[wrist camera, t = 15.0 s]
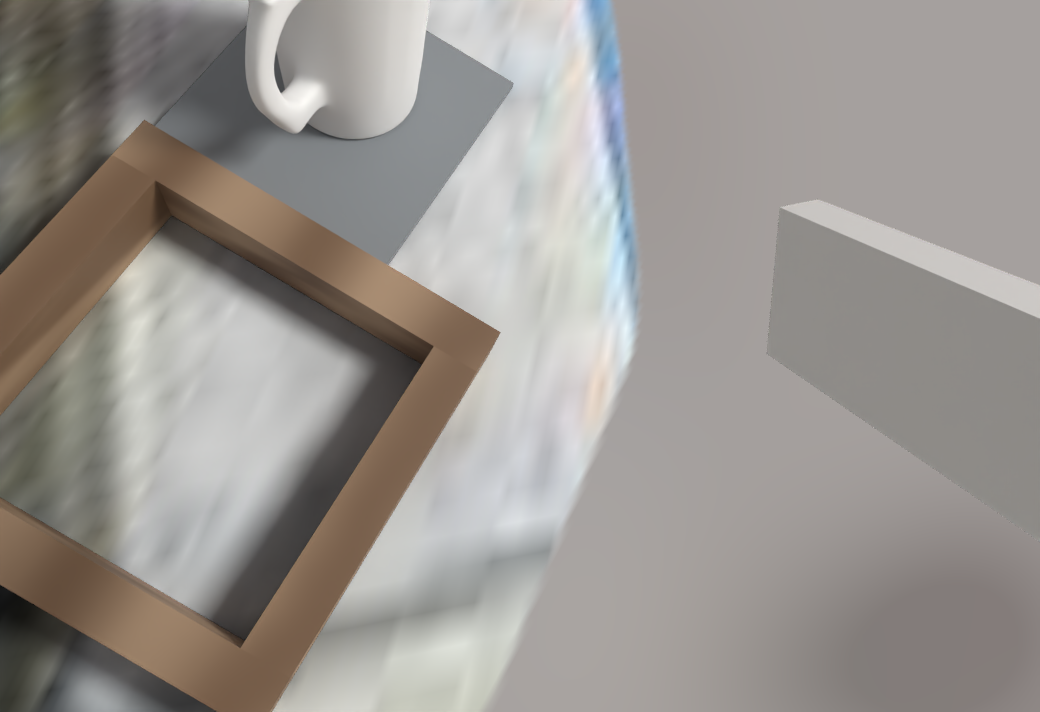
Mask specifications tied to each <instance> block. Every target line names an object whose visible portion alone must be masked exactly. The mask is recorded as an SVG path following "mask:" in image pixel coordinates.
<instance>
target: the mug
mask: <svg viewBox="0 0 1040 712" xmlns="http://www.w3.org/2000/svg"><path fill="white" fill-rule="evenodd" d="M429 4H430V0H249V9H248V20H247V30H246V45H245V71H246V80H247V86H248V90H249V93H250V96H251V98H252V100H253V102H254V104H255V106H256V107H257V109H258V110H259V111H260V112H261V113H262V114H264V115H265V116H266V117H267V118H268V119H269V120H271V121H272V122H273V123H274V124H275V125H277V126H278V127H280V128H282V129H283V130H285V131H287V132H289V133H293V134H296V133H299V132H300V131H301V130H302V129H303V128H304V126H305V125H306V123H308V124H309V125H311V126H312V127H314V128H315V129H317V130H319V131H321V132H323V133H325V134H328V135H331V136H334V137H339V138H344V139H366V138H372V137H376V136H379V135H382V134H384V133H386V132H388V131H390V130H392V129H394V128H395V127H396V126H398V125H399V124H400V123H401V122H402V121H403V120H404V119H405V118H406V117H407V115H408V114H409V112H410V111H411V109H412V107H413V105H414V102H415V99H416V95H417V90H418V82H419V76H420V70H421V64H422V58H423V50H424V42H425V34H426V26H427V19H428V11H429ZM276 52H277V57H278V61H279V66H280V70H281V74H282V79H283V83H284V87H285V90H284V91H283V92H282V93H280V91H279V89H278V87H277V84H276V81H275V76H274V60H275V53H276Z"/></svg>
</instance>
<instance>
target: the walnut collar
mask: <svg viewBox="0 0 1040 712" xmlns="http://www.w3.org/2000/svg"><path fill="white" fill-rule="evenodd" d="M171 216H174V217H175V218H177V219H179V220H180V221H182V222H184V223H185V224H187V225H189V226H190V227H192V228H194V229H195V230H197V231H199V232H200V233H202V234H204V235H206V236H207V237H209V238H211V239H212V240H214V241H216V242H217V243H219V244H221V245H222V246H224V247H226V248H227V249H229V250H231V251H232V252H234V253H236V254H237V255H239V256H241V257H243V258H244V259H246V260H248V261H249V262H251V263H253V264H254V265H256V266H258V267H259V268H261V269H263V270H264V271H266V272H268V273H269V274H271V275H273V276H274V277H276V278H278V279H279V280H281V281H283V282H285V283H286V284H288V285H290V286H291V287H293V288H295V289H296V290H298V291H300V292H301V293H303V294H305V295H306V296H308V297H310V298H311V299H313V300H315V301H316V302H318V303H320V304H322V305H323V306H325V307H327V308H328V309H330V310H332V311H333V312H335V313H337V314H338V315H340V316H342V317H343V318H345V319H347V320H348V321H350V322H352V323H353V324H355V325H357V326H358V327H360V328H362V329H364V330H365V331H367V332H369V333H370V334H372V335H374V336H375V337H377V338H379V339H380V340H382V341H384V342H385V343H387V344H389V345H390V346H392V347H394V348H395V349H397V350H399V351H400V352H402V353H404V354H406V355H407V356H409V357H411V358H412V359H414V360H416V361H417V362H419V363H421V364H422V366H421V367H420V369H419V370H418V372H417V373H416V375H415V377H414V378H413V380H412V381H411V383H410V384H409V386H408V387H407V389H406V391H405V392H404V394H403V395H402V397H401V398H400V400H399V401H398V403H397V405H396V406H395V408H394V409H393V411H392V412H391V414H390V415H389V417H388V419H387V420H386V422H385V423H384V425H383V426H382V428H381V430H380V431H379V433H378V434H377V436H376V437H375V439H374V440H373V442H372V444H371V445H370V447H369V448H368V450H367V451H366V453H365V454H364V456H363V458H362V459H361V461H360V462H359V464H358V465H357V467H356V468H355V470H354V472H353V473H352V475H351V476H350V478H349V479H348V481H347V483H346V484H345V486H344V487H343V489H342V490H341V492H340V493H339V495H338V497H337V498H336V500H335V501H334V503H333V504H332V506H331V507H330V509H329V511H328V512H327V514H326V515H325V517H324V518H323V520H322V522H321V523H320V525H319V526H318V528H317V529H316V531H315V532H314V534H313V536H312V537H311V539H310V540H309V542H308V543H307V545H306V546H305V548H304V550H303V551H302V553H301V554H300V556H299V557H298V559H297V560H296V562H295V564H294V565H293V567H292V568H291V570H290V571H289V573H288V575H287V576H286V578H285V579H284V581H283V582H282V584H281V585H280V587H279V589H278V590H277V592H276V593H275V595H274V596H273V598H272V599H271V601H270V603H269V604H268V606H267V607H266V609H265V610H264V612H263V613H262V615H261V617H260V618H259V620H258V621H257V623H256V624H255V626H254V628H253V629H252V631H251V632H250V634H249V635H248V637H247V638H246V640H245V641H244V640H243V639H241V638H239V637H237V636H236V635H234V634H232V633H231V632H229V631H227V630H225V629H224V628H222V627H220V626H219V625H217V624H215V623H214V622H212V621H210V620H208V619H207V618H205V617H203V616H202V615H200V614H198V613H196V612H195V611H193V610H191V609H190V608H188V607H186V606H185V605H183V604H181V603H179V602H178V601H176V600H174V599H173V598H171V597H169V596H168V595H166V594H164V593H162V592H161V591H159V590H157V589H156V588H154V587H152V586H150V585H149V584H147V583H145V582H144V581H142V580H140V579H139V578H137V577H135V576H133V575H132V574H130V573H128V572H127V571H125V570H123V569H121V568H120V567H118V566H116V565H115V564H113V563H111V562H110V561H108V560H106V559H104V558H103V557H101V556H99V555H98V554H96V553H94V552H93V551H91V550H89V549H87V548H86V547H84V546H82V545H81V544H79V543H77V542H75V541H74V540H72V539H70V538H69V537H67V536H65V535H64V534H62V533H60V532H58V531H57V530H55V529H53V528H52V527H50V526H48V525H46V524H45V523H43V522H41V521H40V520H38V519H36V518H35V517H33V516H31V515H29V514H28V513H26V512H24V511H23V510H21V509H19V508H18V507H16V506H14V505H12V504H11V503H9V502H7V501H6V500H4V499H2V498H0V585H2V586H3V587H5V588H7V589H8V590H10V591H12V592H13V593H15V594H17V595H19V596H20V597H22V598H24V599H25V600H27V601H29V602H31V603H32V604H34V605H36V606H37V607H39V608H41V609H43V610H44V611H46V612H48V613H49V614H51V615H53V616H55V617H56V618H58V619H60V620H61V621H63V622H65V623H67V624H68V625H70V626H72V627H73V628H75V629H77V630H78V631H80V632H82V633H84V634H85V635H87V636H89V637H90V638H92V639H94V640H96V641H97V642H99V643H101V644H102V645H104V646H106V647H108V648H109V649H111V650H113V651H114V652H116V653H118V654H120V655H121V656H123V657H125V658H126V659H128V660H130V661H131V662H133V663H135V664H137V665H138V666H140V667H142V668H143V669H145V670H147V671H149V672H150V673H152V674H154V675H155V676H157V677H159V678H161V679H162V680H164V681H166V682H167V683H169V684H171V685H173V686H174V687H176V688H178V689H179V690H181V691H183V692H185V693H186V694H188V695H190V696H191V697H193V698H195V699H196V700H198V701H200V702H202V703H203V704H205V705H207V706H208V707H210V708H212V709H214V710H215V711H217V712H272V711H273V709H274V707H275V706H276V704H277V702H278V701H279V699H280V698H281V696H282V694H283V693H284V691H285V689H286V688H287V686H288V684H289V683H290V681H291V679H292V678H293V676H294V674H295V673H296V671H297V670H298V668H299V666H300V665H301V663H302V661H303V660H304V658H305V656H306V655H307V653H308V651H309V650H310V648H311V646H312V645H313V643H314V642H315V640H316V638H317V637H318V635H319V633H320V632H321V630H322V628H323V627H324V625H325V623H326V622H327V620H328V618H329V617H330V615H331V614H332V612H333V610H334V609H335V607H336V605H337V604H338V602H339V600H340V599H341V597H342V595H343V594H344V592H345V590H346V589H347V587H348V586H349V584H350V582H351V581H352V579H353V577H354V576H355V574H356V572H357V571H358V569H359V567H360V566H361V564H362V562H363V561H364V559H365V558H366V556H367V554H368V553H369V551H370V549H371V548H372V546H373V544H374V543H375V541H376V539H377V538H378V536H379V534H380V533H381V531H382V530H383V528H384V526H385V525H386V523H387V521H388V520H389V518H390V516H391V515H392V513H393V511H394V510H395V508H396V506H397V505H398V503H399V502H400V500H401V498H402V497H403V495H404V493H405V492H406V490H407V488H408V487H409V485H410V483H411V482H412V480H413V478H414V477H415V475H416V474H417V472H418V470H419V469H420V467H421V465H422V464H423V462H424V460H425V459H426V457H427V455H428V454H429V452H430V450H431V449H432V447H433V446H434V444H435V442H436V441H437V439H438V437H439V436H440V434H441V432H442V431H443V429H444V427H445V426H446V424H447V422H448V421H449V419H450V418H451V416H452V414H453V413H454V411H455V409H456V408H457V406H458V404H459V403H460V401H461V399H462V398H463V396H464V394H465V393H466V391H467V389H468V388H469V386H470V385H471V383H472V381H473V380H474V378H475V376H476V375H477V373H478V371H479V370H480V368H481V366H482V365H483V363H484V361H485V360H486V358H487V357H488V355H489V353H490V351H491V349H492V347H493V345H494V344H495V342H496V340H497V338H498V336H499V334H500V332H499V331H497V330H496V329H494V328H492V327H491V326H489V325H487V324H486V323H484V322H482V321H481V320H479V319H477V318H476V317H474V316H472V315H471V314H469V313H467V312H465V311H464V310H462V309H460V308H459V307H457V306H455V305H454V304H452V303H450V302H449V301H447V300H445V299H444V298H442V297H440V296H439V295H437V294H435V293H434V292H432V291H430V290H429V289H427V288H425V287H424V286H422V285H420V284H419V283H417V282H415V281H414V280H412V279H410V278H409V277H407V276H405V275H403V274H402V273H400V272H398V271H397V270H395V269H393V268H392V267H390V266H388V265H387V264H385V263H383V262H382V261H380V260H378V259H377V258H375V257H373V256H372V255H370V254H368V253H367V252H365V251H363V250H362V249H360V248H358V247H357V246H355V245H353V244H352V243H350V242H348V241H347V240H345V239H343V238H341V237H340V236H338V235H336V234H335V233H333V232H331V231H330V230H328V229H326V228H325V227H323V226H321V225H320V224H318V223H316V222H315V221H313V220H311V219H310V218H308V217H306V216H305V215H303V214H301V213H300V212H298V211H296V210H295V209H293V208H291V207H290V206H288V205H286V204H285V203H283V202H281V201H279V200H278V199H276V198H274V197H273V196H271V195H269V194H268V193H266V192H264V191H263V190H261V189H259V188H258V187H256V186H254V185H253V184H251V183H249V182H248V181H246V180H244V179H243V178H241V177H239V176H238V175H236V174H234V173H233V172H231V171H229V170H228V169H226V168H224V167H223V166H221V165H219V164H217V163H216V162H214V161H212V160H211V159H209V158H207V157H206V156H204V155H202V154H201V153H199V152H197V151H196V150H194V149H192V148H191V147H189V146H187V145H186V144H184V143H182V142H181V141H179V140H177V139H176V138H174V137H172V136H171V135H169V134H167V133H166V132H164V131H162V130H161V129H159V128H157V127H155V126H154V125H152V124H150V123H149V122H147V121H145V120H144V121H143V122H142V123H141V124H140V125H139V126H138V127H137V128H136V129H135V130H134V132H133V133H132V134H131V135H130V136H129V137H128V138H127V139H126V140H125V141H124V142H123V143H122V145H121V146H120V147H119V148H118V149H117V150H116V151H115V152H114V153H113V154H112V155H111V156H110V157H109V159H108V160H107V161H106V162H105V163H104V164H103V165H102V166H101V167H100V168H99V169H98V170H97V171H96V173H95V174H94V175H93V176H92V177H91V178H90V179H89V180H88V181H87V182H86V183H85V184H84V185H83V187H82V188H81V189H80V190H79V191H78V192H77V193H76V194H75V195H74V196H73V197H72V198H71V199H70V201H69V202H68V203H67V204H66V205H65V206H64V207H63V208H62V209H61V210H60V211H59V212H58V213H57V215H56V216H55V217H54V218H53V219H52V220H51V221H50V222H49V223H48V224H47V225H46V226H45V227H44V229H43V230H42V231H41V232H40V233H39V234H38V235H37V236H36V237H35V238H34V239H33V240H32V241H31V243H30V244H29V245H28V246H27V247H26V248H25V249H24V250H23V251H22V252H21V253H20V254H19V256H18V257H17V258H16V259H15V260H14V261H13V262H12V263H11V264H10V265H9V266H8V267H7V268H6V270H5V271H4V272H3V273H2V274H1V275H0V415H1V414H2V413H3V412H4V411H5V409H6V408H7V407H8V406H9V405H10V404H11V402H12V401H13V400H14V399H15V398H16V397H17V395H18V394H19V393H20V392H21V391H22V390H23V388H24V387H25V386H26V385H27V384H28V383H29V381H30V380H31V379H32V378H33V377H34V376H35V374H36V373H37V372H38V371H39V370H40V369H41V367H42V366H43V365H44V364H45V363H46V362H47V360H48V359H49V358H50V357H51V356H52V355H53V353H54V352H55V351H56V350H57V349H58V347H59V346H60V345H61V344H62V343H63V342H64V340H65V339H66V338H67V337H68V336H69V335H70V333H71V332H72V331H73V330H74V329H75V328H76V326H77V325H78V324H79V323H80V322H81V321H82V319H83V318H84V317H85V316H86V315H87V314H88V312H89V311H90V310H91V309H92V308H93V307H94V305H95V304H96V303H97V302H98V301H99V300H100V298H101V297H102V296H103V295H104V294H105V293H106V291H107V290H108V289H109V288H110V287H111V286H112V284H113V283H114V282H115V281H116V280H117V279H118V277H119V276H120V275H121V274H122V273H123V272H124V270H125V269H126V268H127V267H128V266H129V265H130V263H131V262H132V261H133V260H134V259H135V258H136V256H137V255H138V254H139V253H140V252H141V251H142V249H143V248H144V247H145V246H146V245H147V244H148V242H149V241H150V240H151V239H152V238H153V237H154V235H155V234H156V233H157V232H158V231H159V230H160V228H161V227H162V226H163V225H164V224H165V223H166V221H167V220H168V219H169V218H170V217H171Z"/></svg>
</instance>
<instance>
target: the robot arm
mask: <svg viewBox="0 0 1040 712" xmlns="http://www.w3.org/2000/svg"><path fill="white" fill-rule="evenodd" d="M767 354H768V355H769V356H771V357H772V358H774V359H775V360H777V361H778V362H780V363H781V364H782V365H784V366H785V367H787V368H788V369H790V370H791V371H792V372H794V373H796V374H797V375H798V376H800V377H801V378H803V379H804V380H806V381H807V382H808V383H810V384H811V385H813V386H814V387H816V388H817V389H819V390H820V391H822V392H823V393H824V394H826V395H828V396H829V397H830V398H832V399H833V400H835V401H836V402H837V403H839V404H840V405H842V406H843V407H845V408H846V409H848V410H849V411H851V412H852V413H853V414H855V415H856V416H858V417H859V418H861V419H862V420H864V421H865V422H867V423H868V424H869V425H871V426H872V427H874V428H875V429H877V430H878V431H880V432H881V433H883V434H884V435H885V436H887V437H888V438H890V439H892V440H893V441H894V442H896V443H897V444H899V445H900V446H901V447H903V448H904V449H906V450H907V451H909V452H910V453H912V454H913V455H915V456H916V457H917V458H919V459H921V460H922V461H923V462H925V463H926V464H928V465H929V466H930V467H932V468H933V469H935V470H936V471H938V472H939V473H941V474H942V475H944V476H945V477H947V478H948V479H949V480H951V481H952V482H954V483H955V484H957V485H958V486H960V487H961V488H962V489H964V490H965V491H967V492H968V493H970V494H971V495H973V496H974V497H975V498H977V499H978V500H980V501H981V502H983V503H984V504H986V505H987V506H989V507H990V508H991V509H993V510H994V511H996V512H997V513H999V514H1000V515H1002V516H1003V517H1005V518H1006V519H1007V520H1009V521H1010V522H1012V523H1014V524H1015V525H1016V526H1018V527H1019V528H1021V529H1022V530H1023V531H1025V532H1026V533H1028V534H1029V535H1031V536H1032V537H1034V538H1035V539H1036V540H1038V541H1039V542H1040V286H1039V285H1037V284H1035V283H1032V282H1029V281H1027V280H1024V279H1022V278H1019V277H1016V276H1014V275H1011V274H1009V273H1006V272H1004V271H1001V270H999V269H996V268H993V267H991V266H988V265H985V264H983V263H981V262H978V261H976V260H973V259H970V258H968V257H965V256H962V255H960V254H957V253H955V252H952V251H950V250H947V249H945V248H942V247H939V246H937V245H934V244H932V243H929V242H926V241H924V240H921V239H919V238H916V237H914V236H911V235H909V234H906V233H903V232H901V231H898V230H896V229H893V228H891V227H888V226H886V225H883V224H880V223H878V222H875V221H873V220H870V219H867V218H865V217H862V216H860V215H857V214H855V213H852V212H850V211H847V210H844V209H842V208H839V207H837V206H834V205H832V204H829V203H826V202H824V201H821V200H819V199H817V200H813V201H808V202H803V203H798V204H793V205H789V206H784V207H780V211H779V222H778V233H777V244H776V256H775V266H774V278H773V288H772V299H771V311H770V322H769V333H768V344H767Z"/></svg>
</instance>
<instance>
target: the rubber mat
mask: <svg viewBox="0 0 1040 712" xmlns="http://www.w3.org/2000/svg"><path fill="white" fill-rule="evenodd" d="M246 30H247V26H246V27H245V28H244V29H243V30H242V31H241V32H240V34H239V35H238V36H237V37H236V38H235V39H234V40H233V41H232V42H231V43H230V44H229V46H228V47H227V48H226V49H225V50H224V51H223V52H222V53H221V54H220V55H219V56H218V58H217V59H216V60H215V61H214V62H213V63H212V64H211V65H210V66H209V67H208V68H207V69H206V71H205V72H204V73H203V74H202V75H201V76H200V77H199V78H198V79H197V80H196V81H195V83H194V84H193V85H192V86H191V87H190V88H189V89H188V90H187V91H186V92H185V93H184V95H183V96H182V97H181V98H180V99H179V100H178V101H177V102H176V103H175V104H174V105H173V107H172V108H171V109H170V110H169V111H168V112H167V113H166V114H165V115H164V116H163V117H162V119H161V120H160V121H159V122H158V123H157V124H156V125H155V127H157V128H159V129H161V130H162V131H164V132H166V133H167V134H169V135H171V136H172V137H174V138H176V139H177V140H179V141H181V142H182V143H184V144H186V145H187V146H189V147H191V148H192V149H194V150H196V151H197V152H199V153H201V154H202V155H204V156H206V157H207V158H209V159H211V160H212V161H214V162H216V163H217V164H219V165H221V166H223V167H224V168H226V169H228V170H229V171H231V172H233V173H234V174H236V175H238V176H239V177H241V178H243V179H244V180H246V181H248V182H249V183H251V184H253V185H254V186H256V187H258V188H259V189H261V190H263V191H264V192H266V193H268V194H269V195H271V196H273V197H274V198H276V199H278V200H279V201H281V202H283V203H285V204H286V205H288V206H290V207H291V208H293V209H295V210H296V211H298V212H300V213H301V214H303V215H305V216H306V217H308V218H310V219H311V220H313V221H315V222H316V223H318V224H320V225H321V226H323V227H325V228H326V229H328V230H330V231H331V232H333V233H335V234H336V235H338V236H340V237H341V238H343V239H345V240H347V241H348V242H350V243H352V244H353V245H355V246H357V247H358V248H360V249H362V250H363V251H365V252H367V253H368V254H370V255H372V256H373V257H375V258H377V259H378V260H380V261H382V262H383V263H385V264H387V265H389V263H390V262H391V260H392V259H393V258H394V256H395V255H396V253H397V252H398V250H399V249H400V248H401V246H402V245H403V243H404V242H405V240H406V239H407V238H408V236H409V235H410V233H411V232H412V230H413V229H414V228H415V226H416V225H417V223H418V222H419V220H420V219H421V218H422V216H423V215H424V213H425V212H426V210H427V209H428V208H429V206H430V205H431V203H432V202H433V200H434V199H435V198H436V196H437V195H438V193H439V192H440V190H441V189H442V188H443V186H444V185H445V183H446V182H447V180H448V179H449V178H450V176H451V175H452V173H453V172H454V170H455V169H456V168H457V166H458V165H459V163H460V162H461V160H462V159H463V158H464V156H465V155H466V153H467V152H468V150H469V149H470V148H471V146H472V145H473V143H474V142H475V140H476V139H477V138H478V136H479V135H480V133H481V132H482V130H483V129H484V128H485V126H486V125H487V123H488V122H489V120H490V119H491V118H492V116H493V115H494V113H495V112H496V110H497V109H498V108H499V106H500V105H501V103H502V102H503V100H504V99H505V98H506V96H507V95H508V93H509V92H510V90H511V89H512V87H513V84H514V83H513V82H511V81H509V80H508V79H506V78H504V77H503V76H501V75H499V74H498V73H496V72H494V71H493V70H491V69H489V68H488V67H486V66H484V65H483V64H481V63H479V62H478V61H476V60H474V59H473V58H471V57H469V56H468V55H466V54H464V53H463V52H461V51H459V50H458V49H456V48H455V47H453V46H451V45H450V44H448V43H446V42H445V41H443V40H441V39H440V38H438V37H436V36H435V35H433V34H431V33H430V32H428V31H426V34H425V42H424V50H423V58H422V64H421V70H420V76H419V82H418V90H417V95H416V99H415V102H414V105H413V107H412V109H411V111H410V112H409V114H408V115H407V117H406V118H405V119H404V120H403V121H402V122H401V123H400V124H399V125H398V126H396V127H395V128H394V129H392V130H390V131H388V132H386V133H384V134H382V135H379V136H376V137H372V138H366V139H344V138H339V137H334V136H331V135H328V134H325V133H323V132H321V131H319V130H317V129H315V128H314V127H312V126H311V125H309V124H308V123H306V125H305V126H304V128H303V129H302V130H301V131H300V132H299V133H296V134H293V133H289V132H287V131H285V130H283V129H282V128H280V127H278V126H277V125H275V124H274V123H273V122H272V121H271V120H269V119H268V118H267V117H266V116H265V115H264V114H262V113H261V112H260V111H259V110H258V109H257V107H256V106H255V104H254V102H253V100H252V98H251V96H250V93H249V90H248V86H247V80H246V71H245V45H246ZM274 76H275V81H276V84H277V87H278V89H279V91H280V93H282V92H283V91H284V90H285V87H284V83H283V79H282V74H281V70H280V66H279V61H278V57H277V52H276V53H275V60H274Z"/></svg>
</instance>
